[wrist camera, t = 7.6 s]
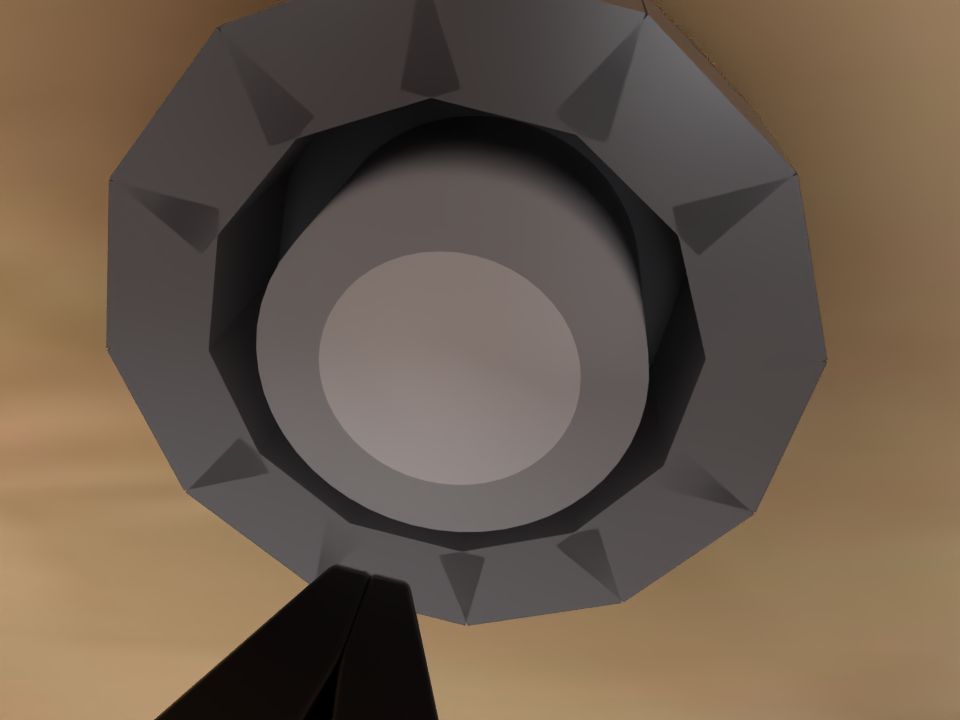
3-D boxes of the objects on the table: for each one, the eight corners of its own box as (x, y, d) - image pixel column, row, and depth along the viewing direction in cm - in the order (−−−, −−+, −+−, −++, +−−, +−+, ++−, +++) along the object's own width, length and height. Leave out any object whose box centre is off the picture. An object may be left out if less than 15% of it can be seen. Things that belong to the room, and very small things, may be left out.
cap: (682, 163, 16) (706, 245, 12) (588, 440, 19) (585, 571, 15) (350, 78, 16) (276, 135, 12) (308, 367, 19) (238, 482, 15)
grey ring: (863, 37, 15) (955, 91, 11) (662, 526, 21) (676, 679, 17) (239, -121, 15) (113, -123, 11) (199, 409, 21) (103, 533, 17)
